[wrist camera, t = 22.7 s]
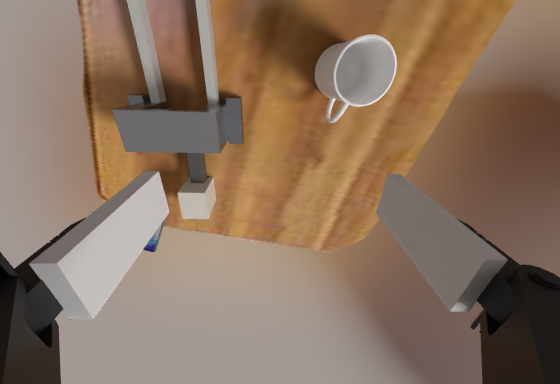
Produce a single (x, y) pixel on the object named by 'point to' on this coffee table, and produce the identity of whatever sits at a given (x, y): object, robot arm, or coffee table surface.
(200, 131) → the housing
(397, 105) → the coffee table surface
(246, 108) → the coffee table surface
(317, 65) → the mug
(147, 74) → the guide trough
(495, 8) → the coffee table surface
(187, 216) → the plug
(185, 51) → the coffee table surface
